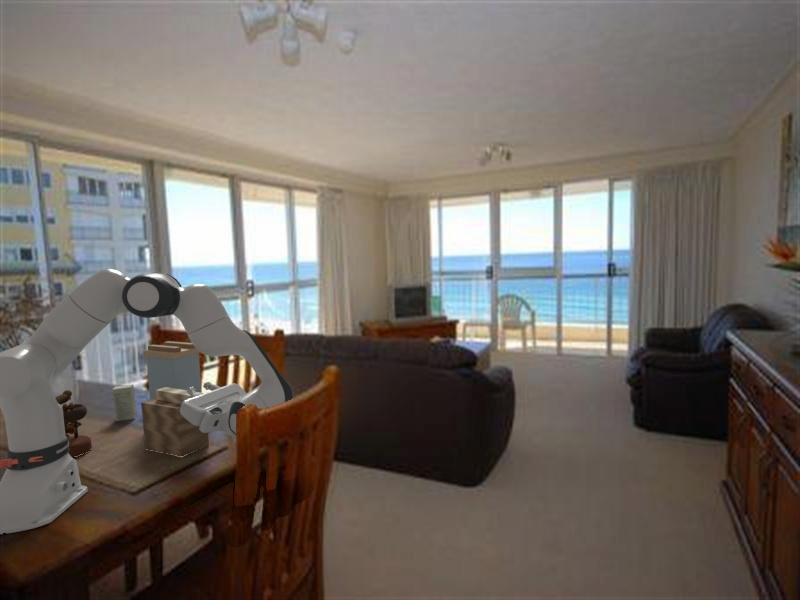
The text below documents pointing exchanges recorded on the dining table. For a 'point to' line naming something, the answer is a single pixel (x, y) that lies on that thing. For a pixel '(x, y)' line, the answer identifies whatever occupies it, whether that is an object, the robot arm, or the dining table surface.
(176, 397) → the light wood bar
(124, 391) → the skincare box
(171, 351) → the chest
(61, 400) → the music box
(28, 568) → the dining table surface
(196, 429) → the brown wood grain block
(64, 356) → the robot arm
